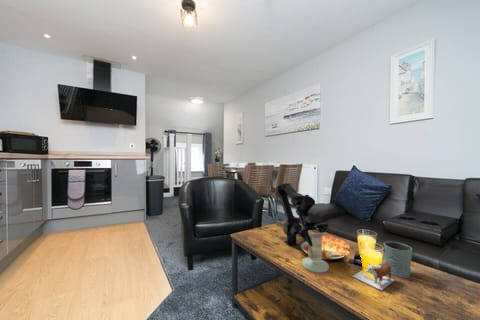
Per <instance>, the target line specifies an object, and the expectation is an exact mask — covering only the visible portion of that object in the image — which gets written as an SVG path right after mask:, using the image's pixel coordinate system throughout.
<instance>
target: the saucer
mask: <svg viewBox="0 0 480 320" xmlns="http://www.w3.org/2000/svg"><path fill="white" fill-rule="evenodd" d="M301 265H302V267H303V268H304V269H305V270H307V271H309V272H311V273H317V274H323V273H324V274H325V273H326V272H328V271H330V270H329V269H330V268H329V267H330V266H329V264H328V262H326V261H325V260H323V259H322V261H312V260H311V259H310V258H309V257H308V256H307V257H304V258H302V260H301Z"/></svg>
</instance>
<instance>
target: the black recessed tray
mask: <svg viewBox="0 0 480 320" xmlns="http://www.w3.org/2000/svg"><path fill="white" fill-rule="evenodd" d="M360 255H361V254H360V253H359V254H358V253H355V254H354V256H353V257H352V258H349V260H348V261H347V263H348V264H350V265H354V266H356V267H361V268H363V267H362V263H361V262H362V261H361V257H360Z"/></svg>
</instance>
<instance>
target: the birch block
mask: <svg viewBox="0 0 480 320" xmlns="http://www.w3.org/2000/svg"><path fill="white" fill-rule="evenodd" d="M308 235H309V237H310V240H311V242H312V247H311V246H310V245H309V244H308V243H307V245H308V246H307V254H308V255H307V257H309V258H310V259H311V260H312V261H322V260H323V257H322V256H323V255H322V254H323V253H322V252H323V249H322V248H323V247H322V246H323V245H322V244H323V243H322V240H323V239H322V235H323V234H322V233H321V232H319V231H317V230H308Z"/></svg>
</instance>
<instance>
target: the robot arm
mask: <svg viewBox="0 0 480 320" xmlns="http://www.w3.org/2000/svg"><path fill="white" fill-rule="evenodd" d="M274 192H275V194H276V196H277V198H279V199H280V202H281V206H282V209H283V212H284V216H285V223H284V227H283V233H284V234H285V235H286V240H284V243H285V244H286V245H287V246H288V247H292V246H298V245H300V244H299V243H298V242H297V239H298V238H297V235H298V236H299V237H301V238H302V239H303V240H304V241H305V242H306V243H307V245H308V244H309V245H310V246H311V247H312V242H311V240H310V237H309V235H308V230H317V231H319V232H321V233H323V234H324V233H327V231H328V229H330V226H329V223H326V222H320V221H322V219H323V218H322V215H321V214H320V213H316V214H314V215H312V214H310V211H311V210H312V209H313V208H314V206H315V204H316V201H315V199H314V198H313V197H312V196H310V195H309V194H304V195H303V194H302V193H299V192H297V191H296V190H295V189H294V188H293V186H291V183H289V182H287V183H285V182H283V183H281V184H280V185H278V186H276V187H275V188H274ZM288 197H289V198H290V201H289V198H288ZM290 202H291V204H290ZM291 205H292V206H293V207H296V209H295V213H296V214H297V215H298V217H299V219H298V217H295V216H294V213H293V210H292V206H291ZM317 223H318V225H317Z"/></svg>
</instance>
